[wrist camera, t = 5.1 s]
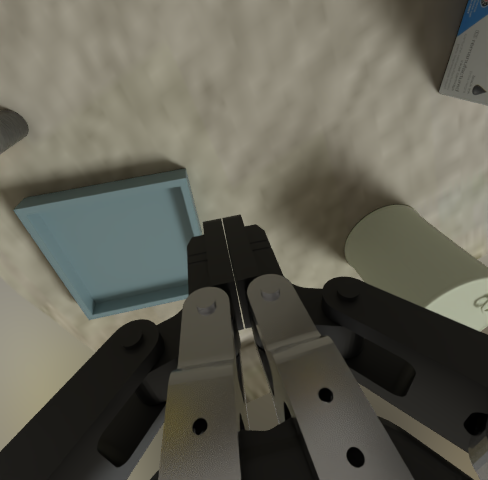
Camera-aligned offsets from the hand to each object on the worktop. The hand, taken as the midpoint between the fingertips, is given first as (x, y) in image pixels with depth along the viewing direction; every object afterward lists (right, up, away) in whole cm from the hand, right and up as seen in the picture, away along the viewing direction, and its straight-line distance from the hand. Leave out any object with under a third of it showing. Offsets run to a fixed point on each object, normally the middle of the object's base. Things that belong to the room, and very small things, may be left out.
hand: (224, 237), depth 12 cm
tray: (-10, -1, +16) cm, 19 cm away
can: (+17, 0, +22) cm, 28 cm away
